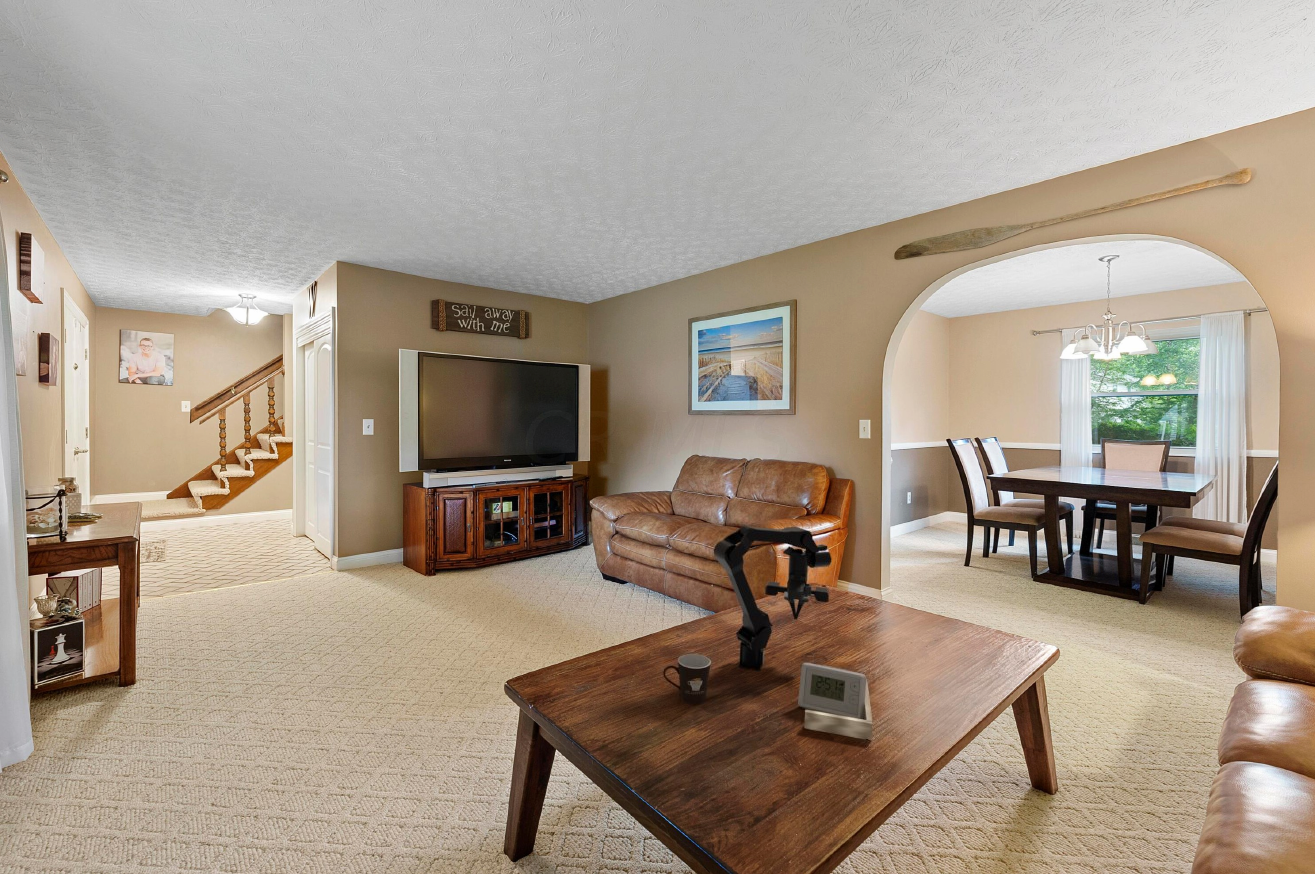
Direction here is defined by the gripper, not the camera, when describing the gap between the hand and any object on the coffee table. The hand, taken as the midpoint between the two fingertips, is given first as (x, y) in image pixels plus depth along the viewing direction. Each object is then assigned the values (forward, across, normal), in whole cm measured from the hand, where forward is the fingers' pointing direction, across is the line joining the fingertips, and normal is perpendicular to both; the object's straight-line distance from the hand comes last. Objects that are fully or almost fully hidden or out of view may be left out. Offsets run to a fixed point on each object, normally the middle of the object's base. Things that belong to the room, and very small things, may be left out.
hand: (795, 619), depth 181 cm
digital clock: (+12, +11, -30) cm, 34 cm away
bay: (+12, +12, -29) cm, 34 cm away
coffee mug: (+12, -25, -36) cm, 45 cm away
